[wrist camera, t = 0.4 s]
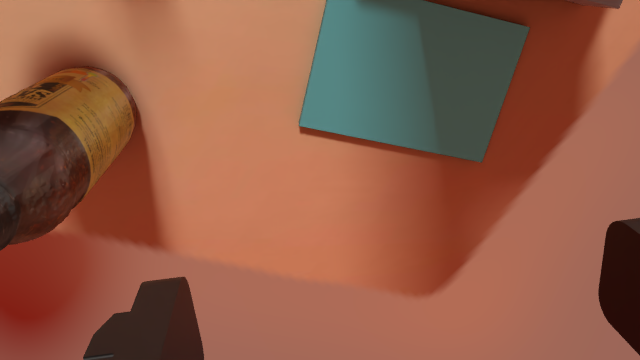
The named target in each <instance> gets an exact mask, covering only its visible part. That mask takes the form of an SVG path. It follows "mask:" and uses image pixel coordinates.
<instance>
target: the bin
mask: <svg viewBox="0 0 640 360" xmlns="http://www.w3.org/2000/svg"><path fill="white" fill-rule="evenodd" d="M566 1H569V2H573V3H577V4H581V5H587V6H596V7H606V8H616V9H619V8H620V5H621V3H622V1H623V0H566Z"/></svg>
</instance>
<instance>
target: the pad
mask: <svg viewBox="0 0 640 360" xmlns="http://www.w3.org/2000/svg"><path fill="white" fill-rule="evenodd" d="M529 29H530V27H527V26H523V25H519V24H515V23H511V22H507V21H503V20H499V19H495V18H491V17H487V16H483V15H479V14H475V13H471V12H467V11H463V10H459V9H456V8H452V7H448V6H444V5H440V4H436V3H432V2H428V1H424V0H326V5H325V9H324V14H323V18H322V23H321V27H320V31H319V36H318V40H317V45H316V49H315V54H314V58H313V63H312V67H311V71H310V76H309V80H308V85H307V89H306V94H305V98H304V103H303V107H302V111H301V116H300V120H299V126H302V127H307V128H312V129H317V130H322V131H327V132H332V133H337V134H342V135H347V136H352V137H357V138H362V139H367V140H372V141H377V142H382V143H387V144H392V145H397V146H402V147H407V148H412V149H417V150H422V151H427V152H432V153H437V154H442V155H447V156H452V157H457V158H462V159H467V160H472V161H477V162H482V161H483V158H484V155H485V152H486V150H487V147H488V144H489V141H490V138H491V136H492V133H493V130H494V127H495V124H496V122H497V119H498V116H499V113H500V110H501V107H502V105H503V102H504V99H505V96H506V93H507V91H508V88H509V85H510V82H511V79H512V77H513V74H514V71H515V68H516V65H517V63H518V60H519V57H520V54H521V51H522V48H523V46H524V43H525V40H526V37H527V34H528V32H529Z"/></svg>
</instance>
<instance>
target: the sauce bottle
mask: <svg viewBox="0 0 640 360" xmlns="http://www.w3.org/2000/svg"><path fill="white" fill-rule="evenodd" d="M136 113H137V111H136V104H135V102H134V99H133V97H132V95H131V94H130V92H129V90H128V89H127V87H126V86H125V85H124V84H123V83H122V82H121V80H119V79H118V78H117V77H116V76H114V75H113V74H111V73H109V72H107V71H104V70H102V69H98V68H93V67H89V66H86V67H79V68H72V69H65V70H62V71H59V72H57V73H54V74H53V75H51V76H49V77H47V78H45V79H43V80H41V81H39V82H37V83H35V84H34V85H32V86H30V87H28V88H26V89H23V90H21V91H20V92H18V93H16V94H14V95H12V96H10V97H8V98H6V99H4V100H3V101H1V102H0V250H2V249H3V248H5V247H6V246H7V245H11V244H18V243H22V242H26V241H30V240H33V239H36V238H38V237H41V236H43V235H45V234H46V233H48V232H50V231H51V230H53V229H54V228H55V227H56V226H57V225H58V224H60V223H61V222H62V221H63V220H64V219H65V218H66V217H67V216H68V214H69V213H70V211H71V209H73V208H74V207H75V206H76V205H77V204H78V203H79V202H81V201H82V200H83V198H84V197H85V196H86V195H87V193H88V192H89V191H90V190H91V188H92V187H93V186H94V185H95V184H96V182H97V181H98V180H99V178H100V177H101V176H102V175H103V173H104V172H105V171H106V170H107V169H108V167H109V166H110V165H111V164H112V162H113V161H114V160H115V159H116V157H117V156H118V155H119V154H120V152H121V151H122V150H123V148H124V147H125V146H126V144H127V143H128V141H129V139H130V137H131V134H132V133H133V130H134V127H135V121H136Z"/></svg>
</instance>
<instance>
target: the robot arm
mask: <svg viewBox="0 0 640 360" xmlns="http://www.w3.org/2000/svg"><path fill="white" fill-rule="evenodd" d="M599 302H600V306H601V309H602V311H603V314H604V316H605V317H606V319H607V321H608V322H609V323H610V324H611V325H612V327H613V328H614V329H615V330H616V331H617V332H619V334H620V335H621V336H622V337H623V338H624V339H625V340H626V341H627V342H628V343H629V345H630V346H631V347H632V348H633V349H634V350H635V351H636V352H637V353H638V354H639V355H640V218H636V219H628V220H621V221H615V222H613V223H611V224H610V225H609V227H608V229H607V232H606V238H605V246H604V254H603V261H602V269H601V276H600V283H599ZM83 359H84V360H204V354H203V346H202V341H201V337H200V333H199V328H198V323H197V319H196V314H195V310H194V306H193V301H192V297H191V292H190V288H189V285H188V282H187V280H186V278H185V277H178V278H169V279H162V280H154V281H147V282H143V283H142V284H141V286H140V288H139V291H138V293H137V296H136V298H135V301H134V304H133V306H132V309H131V311H130V312H124V313H116V314H114V315H113V316H112V317H111V318H110V319H109V320H108V321H107V322H106V323H105V324H104V325H103V326H102V327H101V328H100V329H99V330H98V331H97V332H96V333H95V334H94V335H93V337H92V339H91V341H90V344H89V346H88V348H87V350H86V352H85V354H84V357H83Z"/></svg>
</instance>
